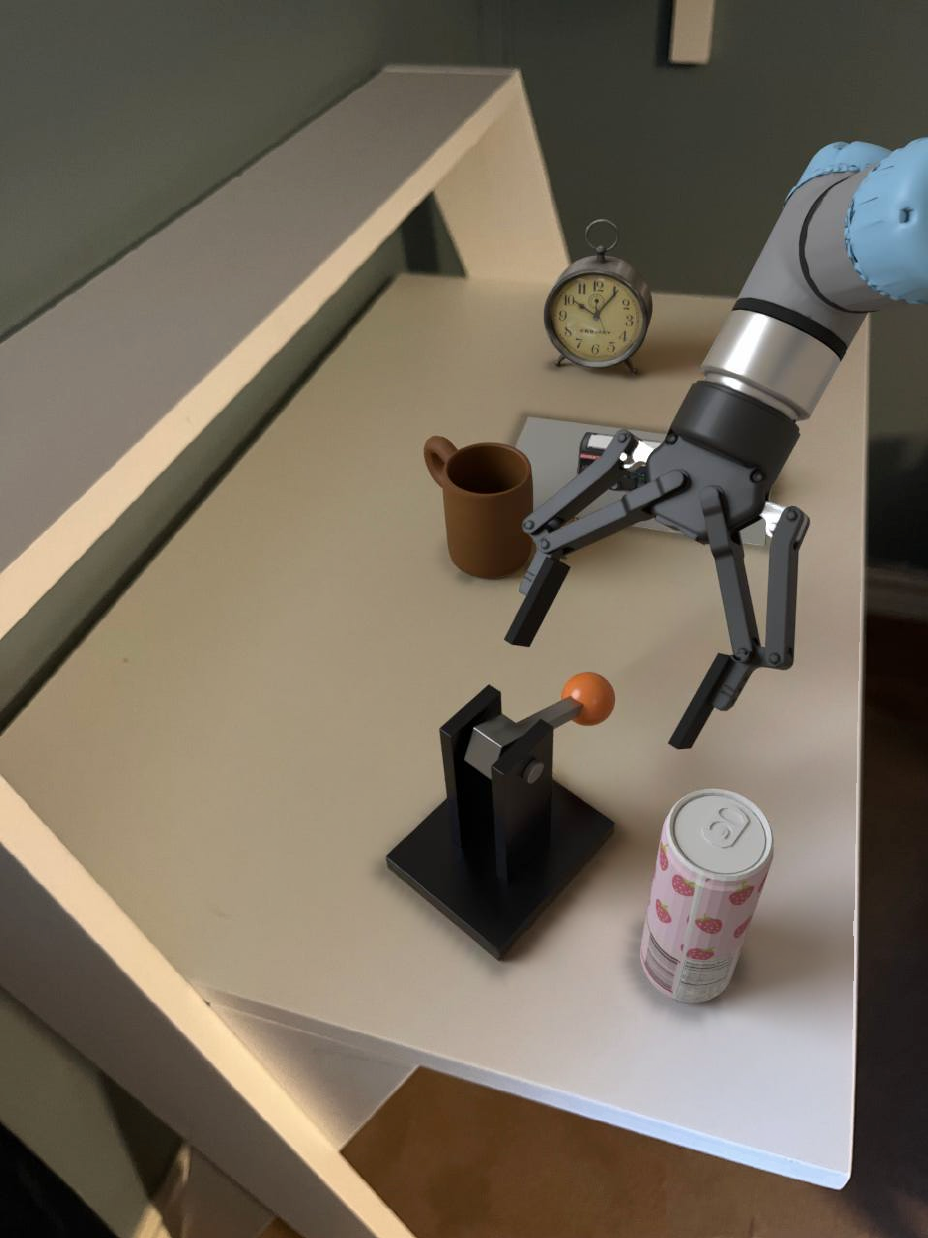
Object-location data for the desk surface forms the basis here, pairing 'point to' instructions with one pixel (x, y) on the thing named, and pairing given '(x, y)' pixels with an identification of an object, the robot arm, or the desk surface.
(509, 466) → the mug
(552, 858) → the switch bracket
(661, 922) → the beverage can
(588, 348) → the alarm clock
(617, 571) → the desk surface
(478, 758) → the switch lever
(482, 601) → the desk surface
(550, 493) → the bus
